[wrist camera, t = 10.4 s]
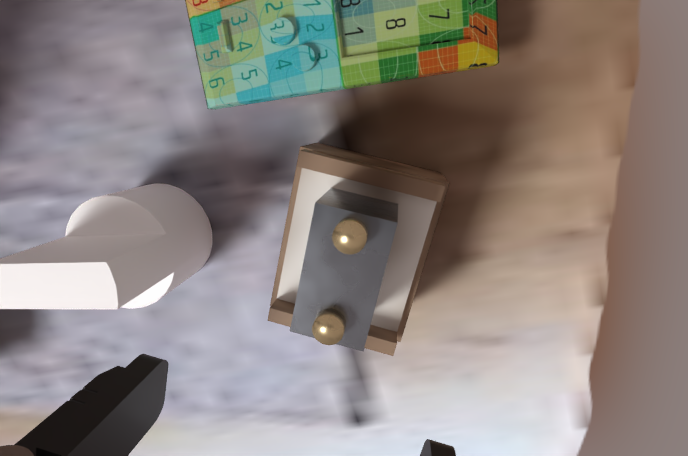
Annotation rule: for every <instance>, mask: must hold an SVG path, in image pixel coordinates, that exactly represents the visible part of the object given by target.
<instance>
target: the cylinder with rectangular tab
mask: <svg viewBox="0 0 688 456" xmlns="http://www.w3.org/2000/svg"><path fill="white" fill-rule="evenodd" d="M212 245H213V239H212V229H211V225H210V222H209V218H208V217H207V215H206V213H205V211H204V210H203V208H202V206H201V205H200V204H199V203H198V202H197V201H196V200H195V199H194V198H193V197H192V196H191V195H189V194H188V193H186V192H185V191H183V190H182V189H180V188H177V187H175V186H172V185H169V184H159V183H155V184H150V185H145V186H141V187H136V188H132V189H128V190H124V191H120V192H116V193H112V194H107V195H103V196H99V197H95V198H91V199H90V200H88V201H86V202H84V203H83V204H81V205H80V206H79V207H78V208H77V209H76V210H75V212H74V213H73V214H72V215H71V218H70V220H69V222H68V225H67V227H66V236H65V237H63V238H60V239H57V240H54V241H51V242H48V243H45V244H42V245H39V246H36V247H33V248H30V249H27V250H25V251H22V252H19V253H16V254H13V255H10V256H7V257H4V258H1V259H0V309H119V308H120V307H123V308H130V309H133V308H140V307H146V306H148V305H150V304H152V303H154V302H156V301H158V300H159V299H161V298H162V297H163V296H165V295H166V294H167V293H169V292H170V291H172V290H173V289H174V288H176V287H177V286H178V285H180V284H181V283H183V282H184V281H185V280H187V279H188V278H189V277H191V276H192V275H194V274H195V273H196V272H197V271H198V270H200V269H201V268H202V267H203V266H204V265H205V263H206V261H207V260H208V258H209V256H210V253H211V249H212Z"/></svg>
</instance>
